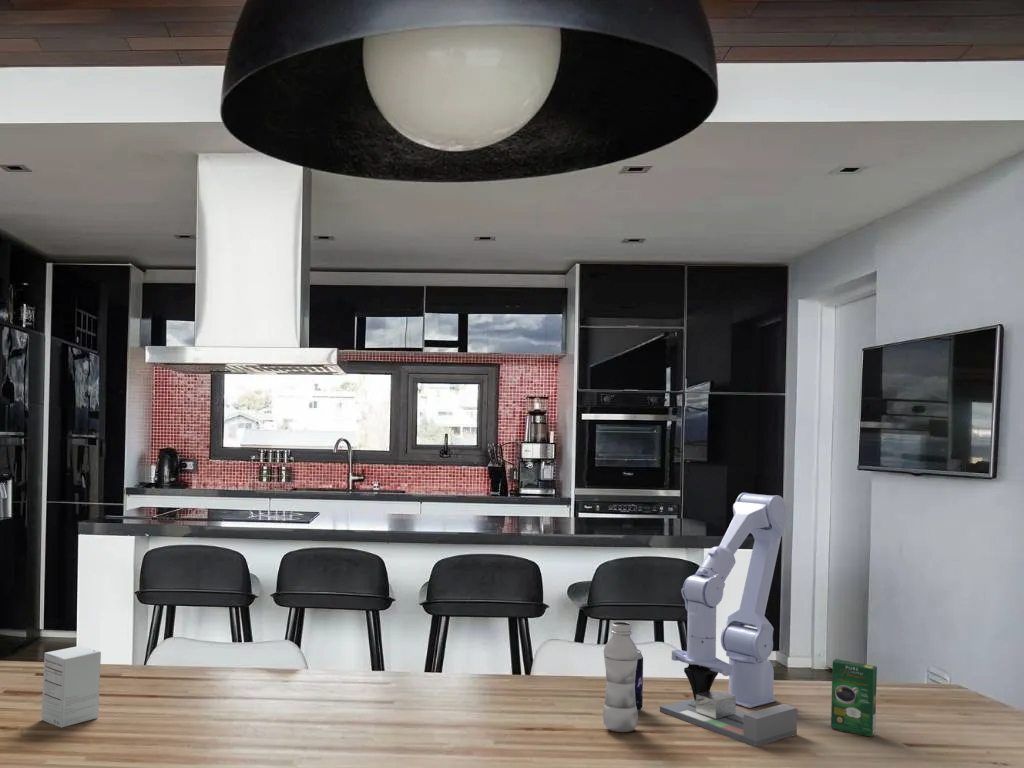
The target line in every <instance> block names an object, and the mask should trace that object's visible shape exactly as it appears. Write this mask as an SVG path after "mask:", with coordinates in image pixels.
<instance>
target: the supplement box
mask: <svg viewBox="0 0 1024 768" xmlns="http://www.w3.org/2000/svg"><path fill="white" fill-rule="evenodd" d="M43 656H44V658H43V678H42V679H43V680H42V681H43V682H42V701H41V720H42V721H44V722H46V723H48V724H50V725H53V726H55V727H59V728H61V729H62V728H66V727H69V726H73V725H76V724H80V723H84V722H88V721H91V720H95V719H98V718H99V710H100V709H99V705H100V685H101V683H100V681H101V662H102V661H101V659H102V652H101V651H100V650H97V649H94V648H91V647H88V646H83V645H77V646H73V647H68V648H67V647H66V648H62V649H57V650H51V651H47V652H44V654H43Z"/></svg>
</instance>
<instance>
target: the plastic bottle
mask: <svg viewBox="0 0 1024 768" xmlns="http://www.w3.org/2000/svg"><path fill="white" fill-rule="evenodd" d="M610 634H612V635H611V637H610V639H608V641H607V642H606V644H605V645H604V649H603V659H604V668H605V679H606V688H605V699H604V705H603V709H602V720H603V725H604V727H605V728H606V729H608V730H610V731H612V732H618V733H629V732H633V731H634V730H635V729H636V727H637V726H638V719H639V712H637V707H636V698H635V675H636V667H637V660H638V659H637V658H638V650H637V649H638V648H637V645H636V644H635V642H634V640H633V638H632V637H631V635H632V634H633V631H632V623H630V622H627V621H626V622H625V621H613V622H612V623H611V630H610Z"/></svg>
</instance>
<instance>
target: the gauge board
mask: <svg viewBox="0 0 1024 768" xmlns="http://www.w3.org/2000/svg"><path fill="white" fill-rule="evenodd" d="M692 701H694V697H693V698H689V699H686V700H681V701H676V702H673V703H668V704H664V705H660V706H659V712H660V713H662V714H666V715H669V716H671V717H674V718H677V719H679V720H683V721H685V722H688V723H691V724H693V725H696V726H699V727H701V728H704V729H707V730H710V731H712V732H715V733H718V734H721V735H723V736H726V737H729V738H731V739H734V740H737V741H740V742H743V743H745V744H747V745H751V746H753V747H756V748H758V747H761V746H764V745H768V744H771V743H775V742H777V741H776V740H778V741H781V740H784V739H787V738H786V737H788V738H790V737H789V736H791V737H793V736H792V735H794V736H797V735H798V707H796V706H792V705H789V704H787V703H782V704H778V705H773V706H770V707H767V708H762V709H759V710H755V711H751V712H746V711H743V710H740V709H738V708H736V714H733V715H729V716H725V717H721V718H718V719H714V718H711V717H709V716H706V715H703V714H700V713H697V712H696V705H694V704H692ZM796 734H797V735H796ZM783 738H784V739H783ZM780 739H781V740H780Z"/></svg>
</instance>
